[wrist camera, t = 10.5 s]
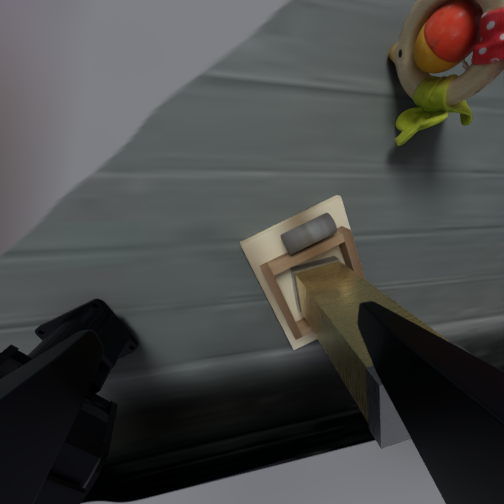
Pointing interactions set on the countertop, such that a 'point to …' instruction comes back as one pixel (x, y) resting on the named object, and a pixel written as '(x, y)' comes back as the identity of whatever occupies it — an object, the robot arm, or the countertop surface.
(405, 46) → the bird rattle
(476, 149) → the countertop surface
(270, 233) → the wooden fixture board
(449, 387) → the robot arm
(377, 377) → the tall brass pillar
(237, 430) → the countertop surface
